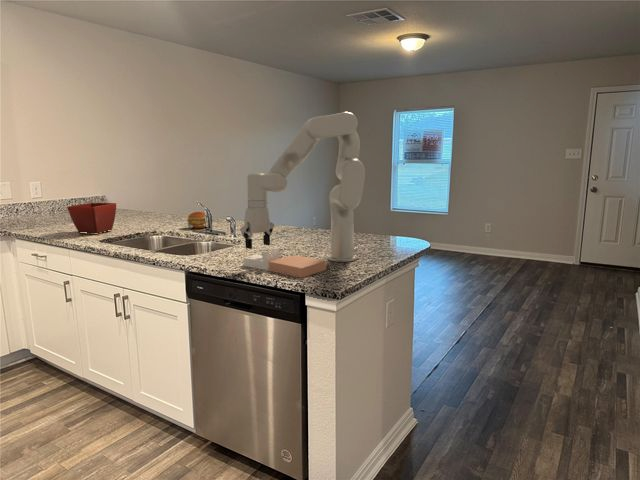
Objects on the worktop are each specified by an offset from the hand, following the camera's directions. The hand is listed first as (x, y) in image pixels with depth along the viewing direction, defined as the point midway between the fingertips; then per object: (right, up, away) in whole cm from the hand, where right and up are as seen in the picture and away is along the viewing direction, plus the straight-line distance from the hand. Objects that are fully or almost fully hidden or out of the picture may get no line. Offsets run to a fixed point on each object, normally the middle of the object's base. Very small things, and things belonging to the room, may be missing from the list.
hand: (257, 246), depth 179 cm
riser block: (+16, -10, -6) cm, 20 cm away
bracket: (+1, -8, +1) cm, 9 cm away
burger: (-51, +10, +98) cm, 110 cm away
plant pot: (-109, +7, +86) cm, 139 cm away
